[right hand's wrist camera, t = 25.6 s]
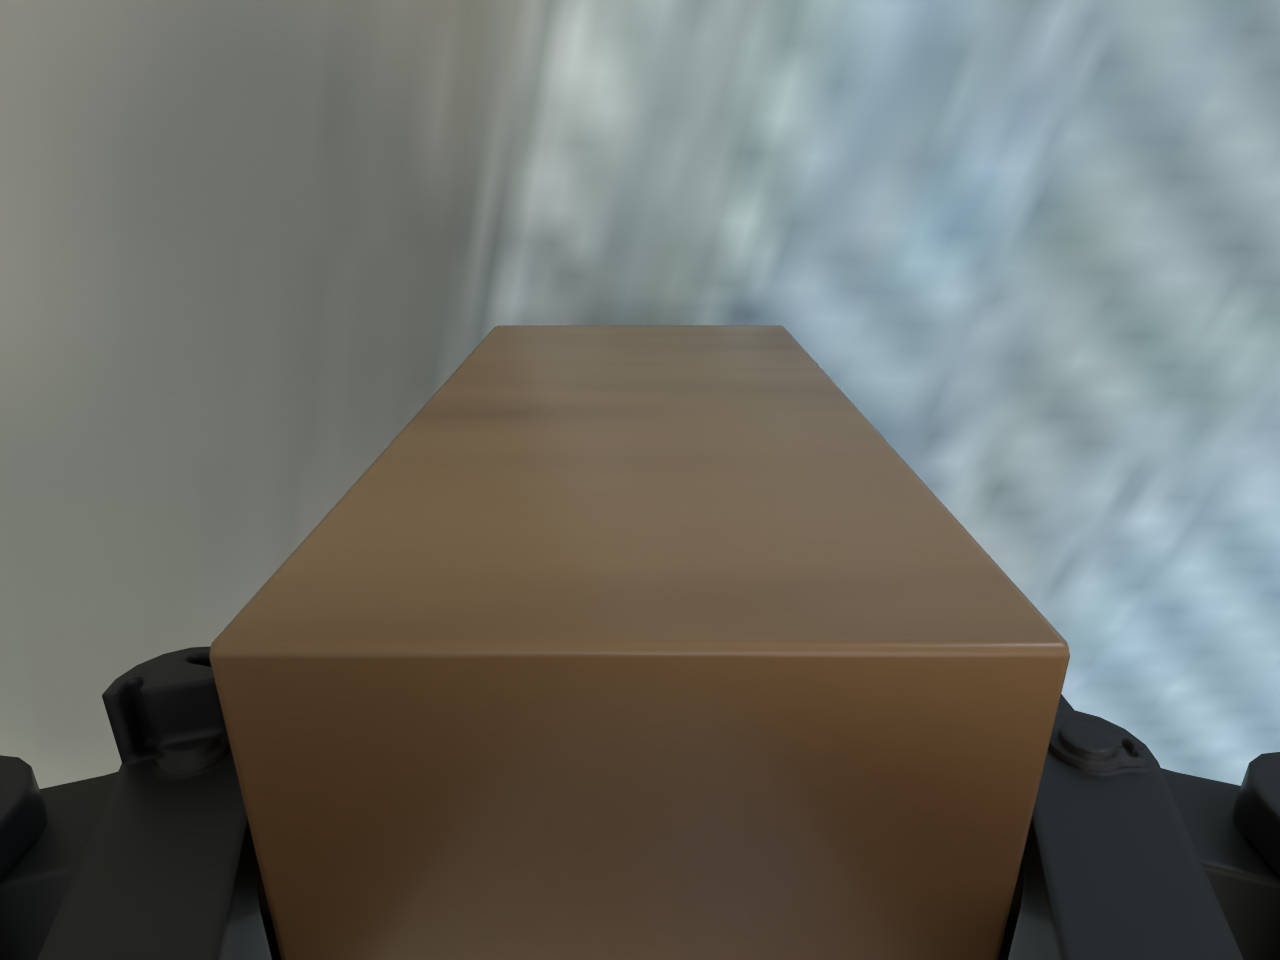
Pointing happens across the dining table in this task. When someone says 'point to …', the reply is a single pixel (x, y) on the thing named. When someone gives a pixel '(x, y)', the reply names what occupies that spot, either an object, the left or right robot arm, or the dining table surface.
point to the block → (639, 676)
